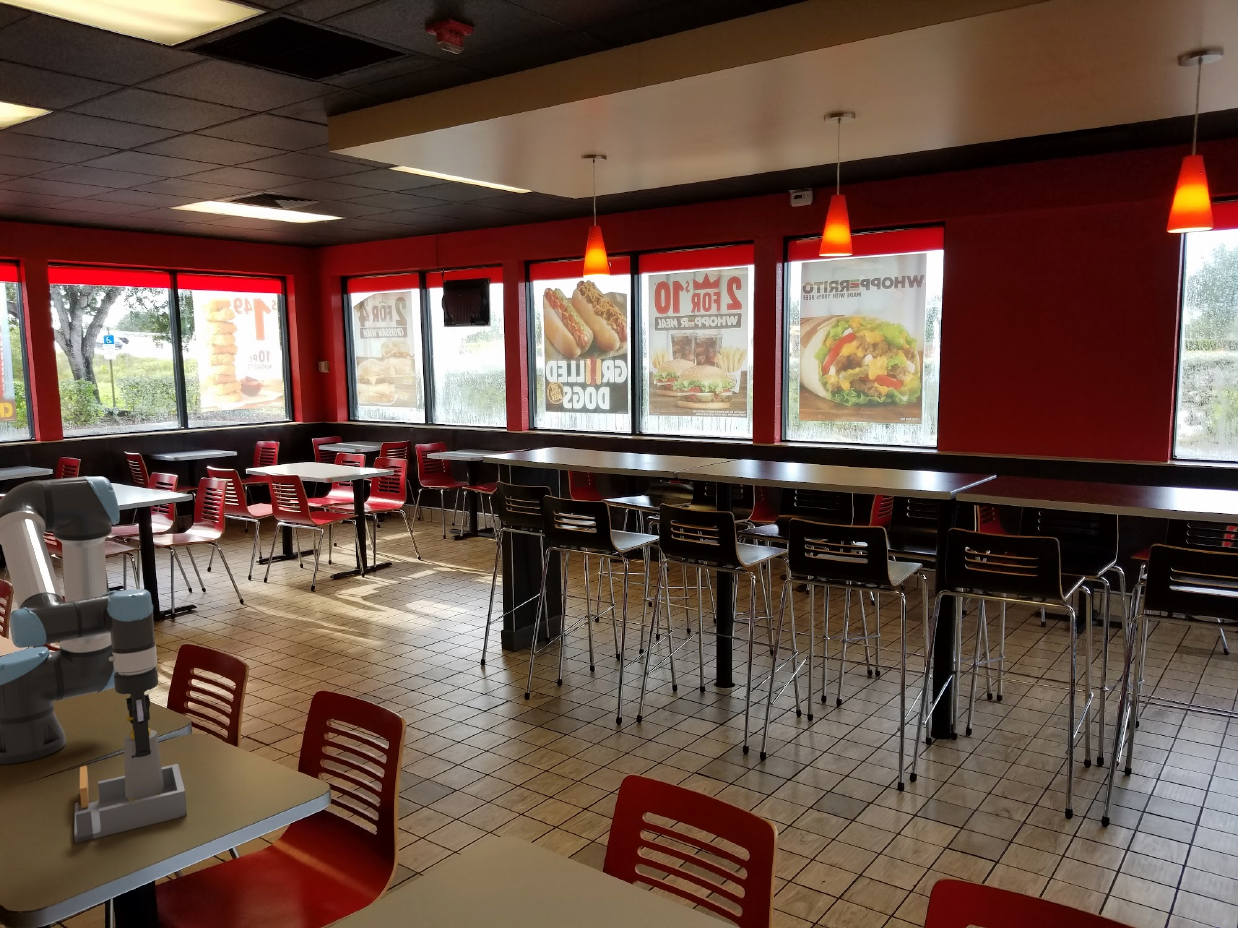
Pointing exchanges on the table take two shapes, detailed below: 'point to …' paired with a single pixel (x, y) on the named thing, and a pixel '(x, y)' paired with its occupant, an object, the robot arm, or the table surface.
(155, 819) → the box
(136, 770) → the soap bottle
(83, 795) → the orange long flat block
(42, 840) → the table surface
